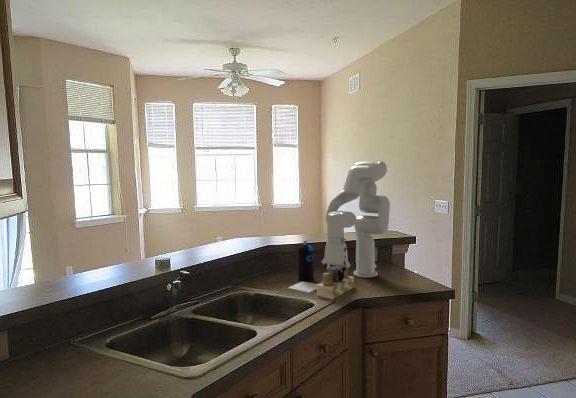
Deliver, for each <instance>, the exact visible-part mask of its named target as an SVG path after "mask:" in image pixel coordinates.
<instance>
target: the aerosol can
mask: <svg viewBox="0 0 576 398" xmlns="http://www.w3.org/2000/svg"><path fill="white" fill-rule="evenodd" d="M297 259H298V260H297V262H298V263H297V264H298V265H297V267H298V268H297V269H298V272H297V273H298V274H297V275H298V277H297V280H298V281H300V282H302V281H303V282H310V281H311V282H312V281H314V280H315V279H314V247H312V245H309V244H308V240H303V244H301V245H300V246H299V247H298V248H297Z"/></svg>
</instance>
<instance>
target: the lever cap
mask: <svg viewBox="0 0 576 398" xmlns="http://www.w3.org/2000/svg"><path fill="white" fill-rule="evenodd" d="M339 272H340V269H339V266H337V265H332V267H330V268H328V269H327V268H326V273H332V281H339Z"/></svg>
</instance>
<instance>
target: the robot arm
mask: <svg viewBox="0 0 576 398" xmlns="http://www.w3.org/2000/svg"><path fill="white" fill-rule="evenodd" d="M387 172H388V167H387V164H386V163H385V162H384V161H382V160H374V161H373V160H372V161H371V160H370V161H369V160H368V161H364V160H363V161H359V162H358V161H357V162H356V163H354V165H353V166H352V167H350V169H348V173H347V176H346V178H345V182H344V185H343V190H342V191H341V192H340V193H338V194H337V195H336V196H335V197H334V198H333V199H332V200H331V201H330V202H329V205H328V206H327V211H326V215H325V223H326V231H327V232H326V234H327V235H326V239H327V241H326V244H325V247H324V257H323V259H322V260H321V263H322V264H323V265H324V267H325V268H326V270H327V269H328V268H330V267H333V266H339V269H340V272H339V281H342V280H343V279H344V271H345V270H346V269H347V268H348V269H349V268H350V267H351V266H352V265H351V263H350V262H349V260H348V259H349V258H348V257H349V255H348V249H347V248H348V247H347V243H345V242H347V238H345V229H344V228H352V227H354V230H355V241H356V242H355V243H356V245H355V246H356V247H355V248H356V249H355V250H356V251H355V252H356V254H355V255H356V261H355V262H356V264H355V265H356V266H355V267H356V269H355V270H354V271H353V276H355V277H359V278H367V279H368V278H375V277H377V276H378V274H379V273H378V271H376V269H375V268H377V266H378V265H377V264H376V263H375V262H376V261H375V259H376V258H375V257H376V256H375V255H376V254H375V252H376V249H375V247H376V246H375V244H376V243H375V240H374V237H373V236H372V235H376V236H377V235H379V236H385V235H386V234H387V232H388V230H389V224H390V223H389V222H390V209H391V203H390V199H389V198H388V197H387V196H386V195H377V190H378V187H377V183H376V182H378V181H380V180H381V179H383V178H384V177H385V176H386V175H387ZM358 198H359V199H358ZM357 199H358V201H359V202H358V208H359V211H360V212H361V213H365V214H376V215H365V214H364V215H358V216H357V217H356V214H355V213H354V212H352V211H343V210H339V209H340V207H342V206H343V205H345V204H347V203H349V202H353V201H354V200H357ZM377 214H378V215H377ZM344 264H346V266H345V267H344Z"/></svg>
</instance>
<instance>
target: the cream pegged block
mask: <svg viewBox="0 0 576 398" xmlns="http://www.w3.org/2000/svg"><path fill="white" fill-rule="evenodd" d="M345 266H346V264H344V267H345ZM317 284H318V285H317V290H316V296H317V297H321V298H326V299H330V300H333V299H335V298H337V297H340V296H341V295H343V294H345V293H346V292H348V291H350V290H352V289H353V288H355V277H354V276H349V268H347V269H346V270H345V271H344V279H343V280H342V281H332V273H327V272H323V273H322V282H319V283H317ZM344 292H345V293H344Z"/></svg>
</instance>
